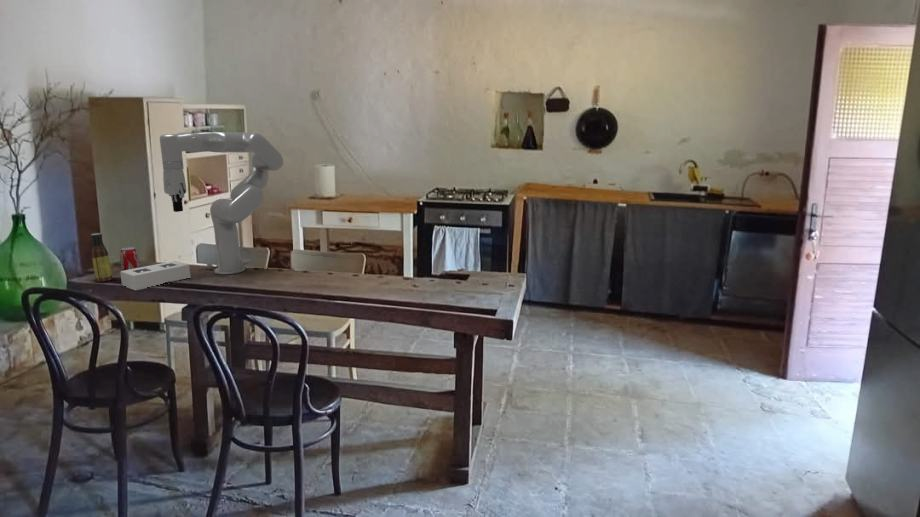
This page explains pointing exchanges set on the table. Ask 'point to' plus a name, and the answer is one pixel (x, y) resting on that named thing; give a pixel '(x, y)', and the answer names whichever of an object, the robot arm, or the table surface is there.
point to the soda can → (129, 258)
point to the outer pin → (141, 270)
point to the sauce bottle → (100, 259)
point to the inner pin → (168, 265)
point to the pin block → (154, 275)
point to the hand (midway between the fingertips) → (178, 211)
